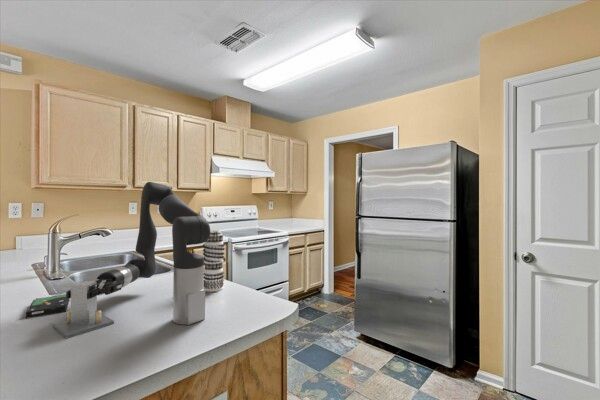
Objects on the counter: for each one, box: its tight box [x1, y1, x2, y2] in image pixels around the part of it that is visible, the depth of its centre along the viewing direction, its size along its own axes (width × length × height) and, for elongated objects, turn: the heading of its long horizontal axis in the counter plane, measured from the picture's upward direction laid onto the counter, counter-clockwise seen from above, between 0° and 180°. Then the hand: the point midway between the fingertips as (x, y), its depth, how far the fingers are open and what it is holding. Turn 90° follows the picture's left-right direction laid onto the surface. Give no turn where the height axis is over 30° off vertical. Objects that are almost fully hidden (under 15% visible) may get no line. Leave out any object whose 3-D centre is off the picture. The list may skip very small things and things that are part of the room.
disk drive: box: [25, 293, 71, 319], centre depth 102 cm, size 10×3×15 cm
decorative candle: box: [202, 229, 226, 292], centre depth 126 cm, size 9×9×25 cm
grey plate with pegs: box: [52, 309, 115, 339], centre depth 89 cm, size 12×12×4 cm
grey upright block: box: [70, 280, 98, 325], centre depth 89 cm, size 5×4×12 cm
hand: (77, 295), depth 86 cm, fingers open, 5 cm apart
